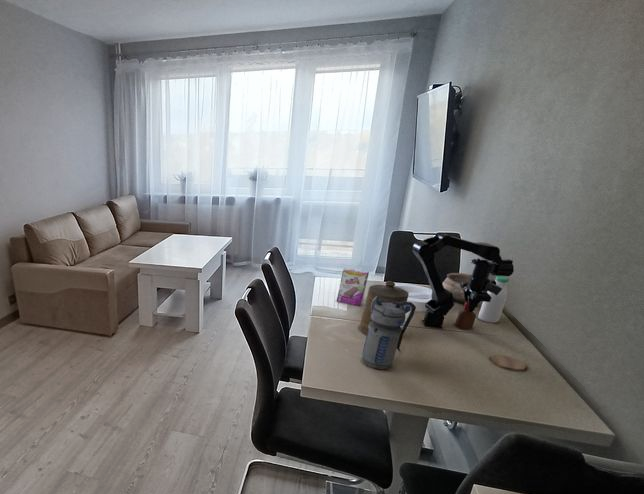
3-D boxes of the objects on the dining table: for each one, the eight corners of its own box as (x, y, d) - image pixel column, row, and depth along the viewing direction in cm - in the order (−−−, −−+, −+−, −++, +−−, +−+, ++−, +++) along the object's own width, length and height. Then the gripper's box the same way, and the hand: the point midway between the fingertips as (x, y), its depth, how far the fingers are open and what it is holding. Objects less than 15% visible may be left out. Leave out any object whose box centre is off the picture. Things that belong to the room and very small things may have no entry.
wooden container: (402, 331, 173) (416, 281, 164) (391, 342, 163) (404, 290, 154) (367, 321, 182) (377, 273, 173) (353, 331, 172) (364, 281, 163)
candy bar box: (336, 301, 203) (342, 269, 196) (338, 298, 207) (344, 267, 200) (360, 306, 198) (367, 274, 191) (362, 303, 201) (369, 271, 195)
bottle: (456, 328, 177) (464, 305, 173) (452, 322, 183) (459, 300, 178) (473, 330, 175) (481, 307, 171) (469, 324, 181) (476, 302, 177)
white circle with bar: (440, 298, 211) (443, 289, 209) (441, 316, 189) (444, 306, 187) (381, 288, 224) (383, 279, 222) (375, 303, 202) (377, 294, 200)
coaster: (496, 367, 146) (497, 366, 146) (487, 355, 155) (487, 353, 155) (530, 373, 144) (531, 371, 143) (518, 359, 152) (519, 357, 152)
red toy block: (476, 310, 175) (478, 303, 173) (470, 311, 173) (472, 305, 172) (467, 307, 178) (469, 300, 177) (460, 308, 177) (463, 301, 175)
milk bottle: (501, 324, 183) (517, 281, 174) (482, 322, 184) (497, 279, 176) (493, 317, 189) (508, 275, 181) (474, 315, 191) (488, 274, 183)
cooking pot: (438, 290, 222) (445, 268, 217) (480, 297, 213) (488, 275, 208) (438, 305, 202) (445, 281, 197) (484, 313, 193) (492, 289, 188)
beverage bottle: (401, 374, 141) (420, 306, 131) (359, 367, 145) (374, 300, 134) (397, 360, 149) (414, 296, 139) (358, 354, 153) (372, 291, 143)
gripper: (512, 284, 159) (499, 321, 165) (495, 270, 175) (483, 305, 182) (479, 280, 162) (467, 317, 168) (465, 268, 179) (454, 301, 185)
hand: (468, 309), depth 176 cm, fingers closed on red toy block, 4 cm apart
